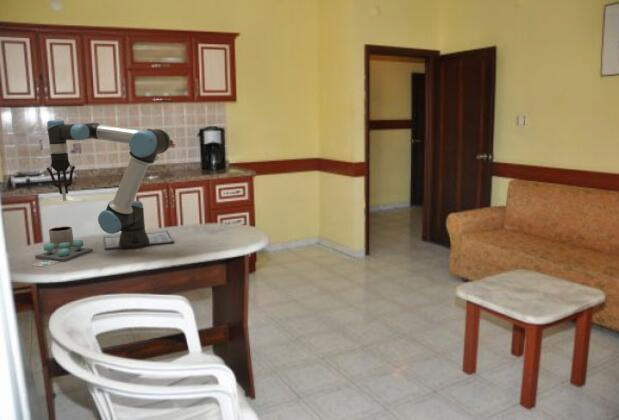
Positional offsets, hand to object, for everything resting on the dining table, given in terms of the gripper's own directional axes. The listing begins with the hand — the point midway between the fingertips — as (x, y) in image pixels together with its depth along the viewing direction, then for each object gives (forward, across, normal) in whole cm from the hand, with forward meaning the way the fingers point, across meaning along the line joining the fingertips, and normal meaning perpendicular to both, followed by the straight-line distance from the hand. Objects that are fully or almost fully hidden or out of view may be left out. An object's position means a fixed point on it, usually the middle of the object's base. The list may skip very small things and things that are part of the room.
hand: (64, 200), depth 256 cm
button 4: (+23, +9, +9) cm, 26 cm away
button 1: (+23, -4, +10) cm, 25 cm away
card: (+25, +11, +21) cm, 35 cm away
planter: (+26, +4, -9) cm, 27 cm away
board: (+25, +3, +9) cm, 27 cm away
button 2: (+25, +3, +16) cm, 30 cm away
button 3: (+25, +3, +3) cm, 25 cm away
